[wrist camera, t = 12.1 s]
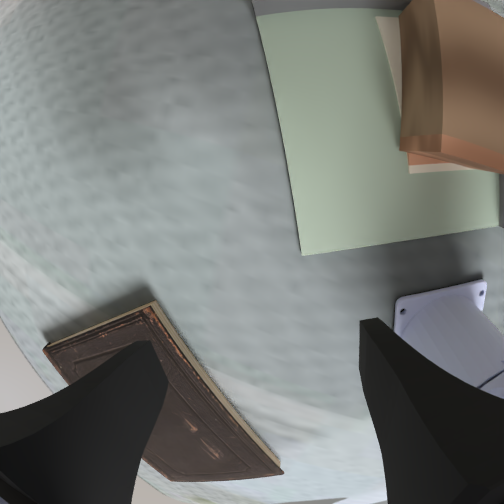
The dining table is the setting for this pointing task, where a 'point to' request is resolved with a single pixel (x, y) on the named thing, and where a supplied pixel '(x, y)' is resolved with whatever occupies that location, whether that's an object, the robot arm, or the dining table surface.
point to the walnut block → (453, 83)
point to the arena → (359, 131)
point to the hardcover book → (173, 401)
